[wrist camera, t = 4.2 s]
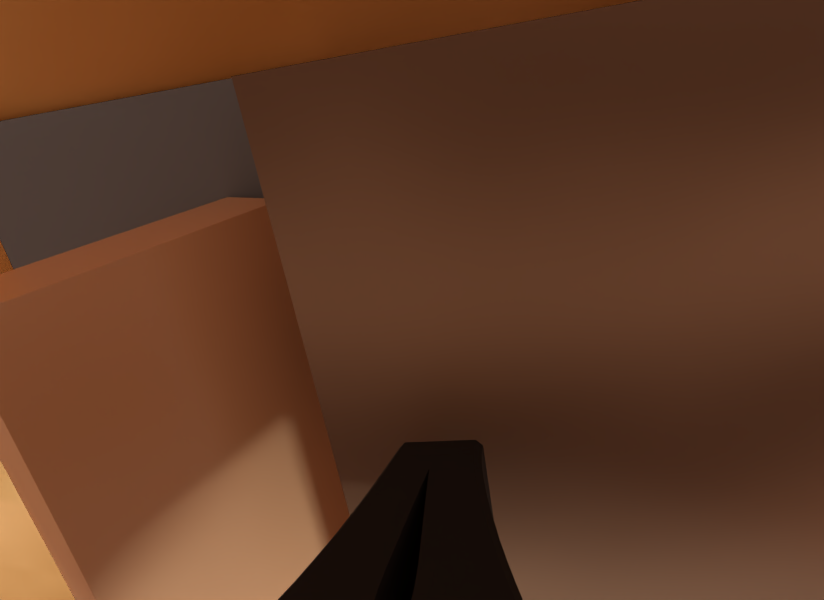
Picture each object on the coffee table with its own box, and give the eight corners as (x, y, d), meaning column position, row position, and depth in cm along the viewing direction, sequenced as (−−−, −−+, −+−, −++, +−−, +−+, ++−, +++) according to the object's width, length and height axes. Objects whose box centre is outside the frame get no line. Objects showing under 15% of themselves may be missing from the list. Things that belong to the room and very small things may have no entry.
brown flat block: (834, 560, 15) (932, 721, 12) (421, 560, 18) (398, 695, 14) (923, -51, 10) (1152, -95, 6) (313, 63, 12) (231, 76, 9)
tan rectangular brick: (163, 729, 12) (115, 676, 13) (366, 528, 16) (316, 502, 17) (-49, 321, 8) (-84, 302, 9) (282, 198, 12) (227, 196, 14)
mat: (421, 560, 18) (420, 568, 17) (155, 560, 20) (150, 567, 19) (313, 63, 12) (309, 63, 12) (-40, 128, 14) (-51, 130, 14)
